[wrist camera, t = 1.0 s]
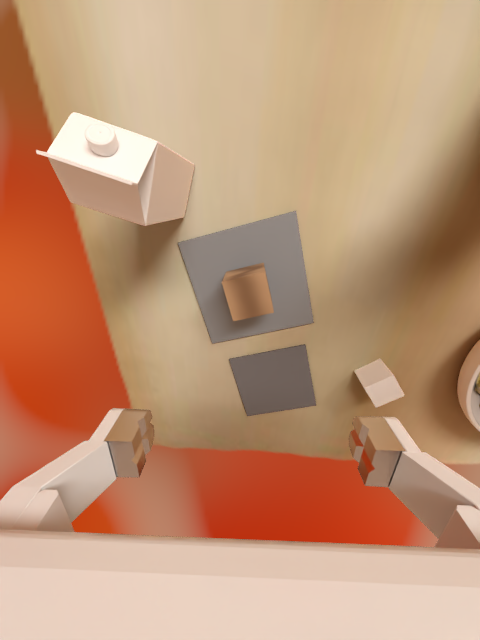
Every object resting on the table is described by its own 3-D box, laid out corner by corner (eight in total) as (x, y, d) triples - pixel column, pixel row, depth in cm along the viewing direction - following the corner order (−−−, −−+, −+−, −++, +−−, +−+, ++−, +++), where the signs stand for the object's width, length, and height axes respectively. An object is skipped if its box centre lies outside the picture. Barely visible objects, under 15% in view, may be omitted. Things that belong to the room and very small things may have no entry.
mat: (305, 344, 46) (305, 345, 46) (315, 404, 51) (316, 405, 51) (229, 359, 48) (229, 359, 48) (247, 415, 53) (247, 416, 53)
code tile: (295, 210, 37) (296, 210, 37) (313, 322, 44) (313, 323, 44) (178, 242, 40) (177, 243, 39) (212, 342, 47) (212, 343, 46)
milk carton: (184, 217, 38) (126, 231, 21) (137, 202, 38) (37, 202, 20) (195, 164, 35) (138, 128, 18) (144, 146, 35) (34, 91, 17)
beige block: (379, 358, 46) (393, 374, 42) (390, 377, 48) (404, 395, 43) (353, 370, 48) (364, 388, 43) (364, 388, 49) (376, 407, 45)
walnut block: (263, 262, 40) (264, 272, 34) (271, 298, 42) (273, 312, 37) (226, 271, 41) (221, 282, 35) (235, 306, 43) (233, 321, 38)
